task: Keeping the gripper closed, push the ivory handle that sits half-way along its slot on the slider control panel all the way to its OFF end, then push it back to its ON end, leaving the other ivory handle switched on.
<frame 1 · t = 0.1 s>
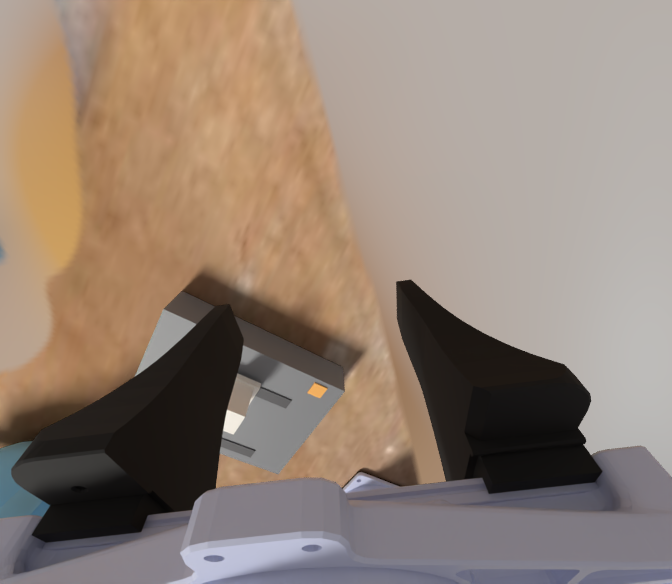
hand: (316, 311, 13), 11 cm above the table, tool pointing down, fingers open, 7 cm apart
decorative pot: (80, 473, 34), on the table
tripped handle: (235, 403, 23), point 5 cm above the table, slide at 0.0 cm
slider control panel: (239, 379, 28), on the table
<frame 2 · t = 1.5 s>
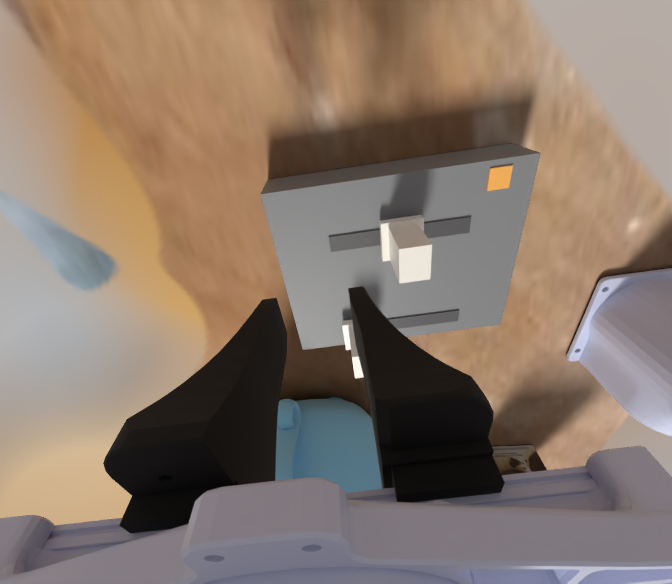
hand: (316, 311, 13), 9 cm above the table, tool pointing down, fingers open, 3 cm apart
decorative pot: (311, 424, 35), on the table
tripped handle: (407, 249, 17), point 5 cm above the table, slide at 0.0 cm
cookie box: (490, 456, 41), on the table
slider control panel: (390, 248, 22), on the table
on handle: (362, 347, 21), point 5 cm above the table, slide at 3.0 cm
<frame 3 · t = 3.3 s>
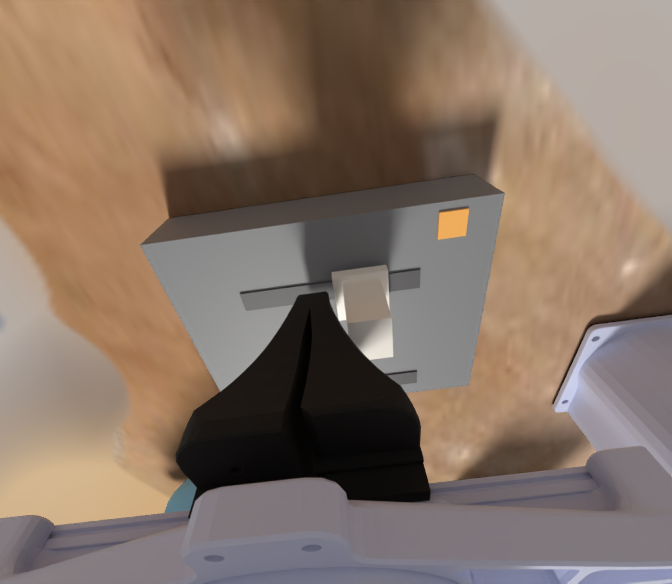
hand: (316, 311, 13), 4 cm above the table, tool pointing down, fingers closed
decorative pot: (268, 474, 31), on the table
tripped handle: (365, 313, 13), point 5 cm above the table, slide at -1.4 cm, touching gripper
slider control panel: (334, 295, 18), on the table
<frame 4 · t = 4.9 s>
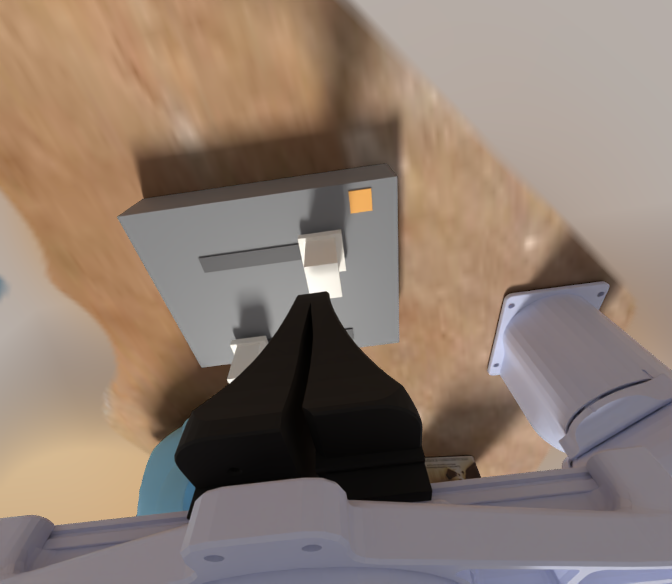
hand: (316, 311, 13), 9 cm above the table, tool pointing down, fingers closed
decorative pot: (243, 436, 35), on the table
tripped handle: (323, 265, 16), point 5 cm above the table, slide at -3.1 cm
cookie box: (433, 466, 41), on the table
slider control panel: (285, 266, 22), on the table
on handle: (249, 367, 21), point 5 cm above the table, slide at 3.0 cm
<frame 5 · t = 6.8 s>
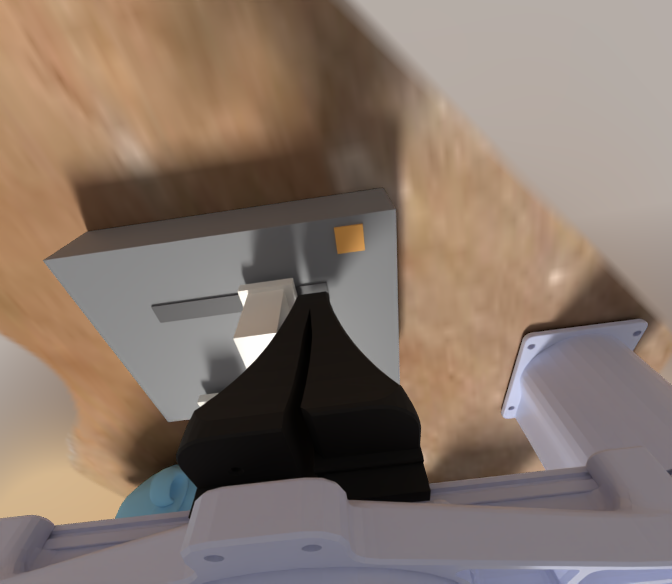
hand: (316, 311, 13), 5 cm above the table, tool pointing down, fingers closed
decorative pot: (227, 479, 31), on the table
tripped handle: (268, 326, 13), point 5 cm above the table, slide at -1.6 cm, touching gripper
slider control panel: (264, 305, 19), on the table
on handle: (219, 430, 17), point 5 cm above the table, slide at 3.0 cm
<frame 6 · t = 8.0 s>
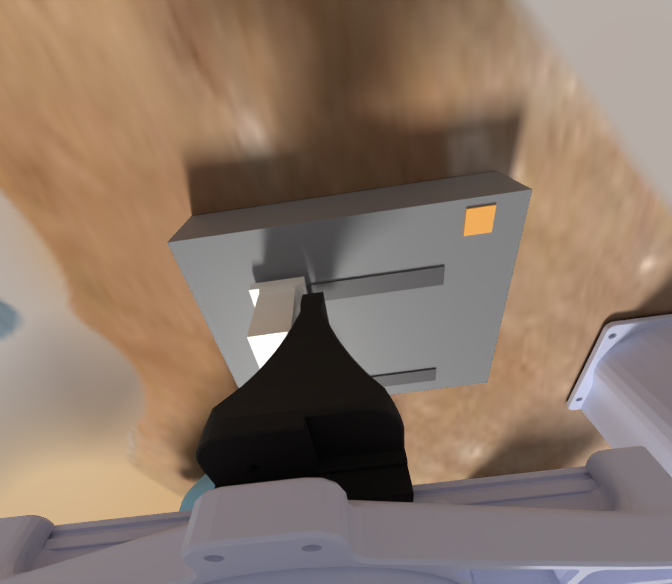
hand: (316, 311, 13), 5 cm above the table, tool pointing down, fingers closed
decorative pot: (280, 473, 31), on the table
tripped handle: (279, 324, 13), point 5 cm above the table, slide at 3.4 cm, touching gripper
slider control panel: (353, 293, 18), on the table
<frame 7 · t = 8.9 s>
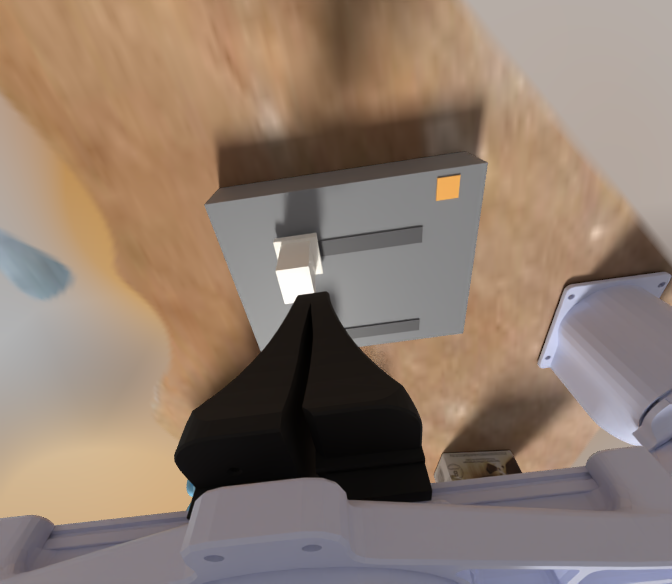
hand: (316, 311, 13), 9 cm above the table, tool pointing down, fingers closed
tripped handle: (297, 268, 17), point 5 cm above the table, slide at 3.1 cm
cookie box: (469, 461, 41), on the table
slider control panel: (350, 256, 22), on the table
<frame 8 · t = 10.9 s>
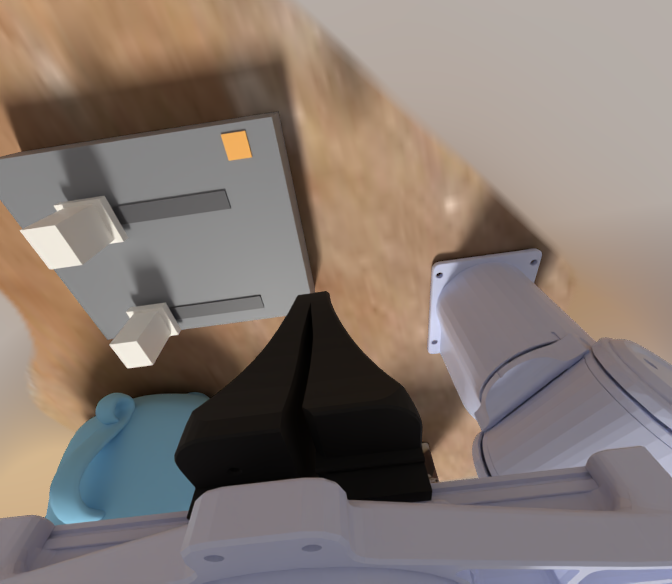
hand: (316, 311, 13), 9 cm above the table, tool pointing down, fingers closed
decorative pot: (183, 421, 33), on the table
tripped handle: (75, 233, 15), point 5 cm above the table, slide at 3.1 cm
cookie box: (389, 454, 39), on the table
slider control panel: (190, 230, 21), on the table
on handle: (144, 335, 19), point 5 cm above the table, slide at 3.0 cm
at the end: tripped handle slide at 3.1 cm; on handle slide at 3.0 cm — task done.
